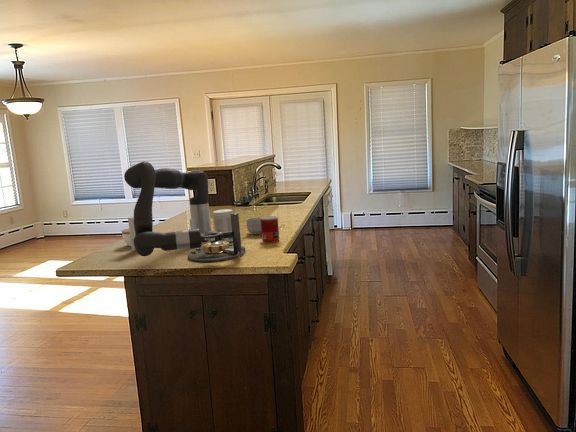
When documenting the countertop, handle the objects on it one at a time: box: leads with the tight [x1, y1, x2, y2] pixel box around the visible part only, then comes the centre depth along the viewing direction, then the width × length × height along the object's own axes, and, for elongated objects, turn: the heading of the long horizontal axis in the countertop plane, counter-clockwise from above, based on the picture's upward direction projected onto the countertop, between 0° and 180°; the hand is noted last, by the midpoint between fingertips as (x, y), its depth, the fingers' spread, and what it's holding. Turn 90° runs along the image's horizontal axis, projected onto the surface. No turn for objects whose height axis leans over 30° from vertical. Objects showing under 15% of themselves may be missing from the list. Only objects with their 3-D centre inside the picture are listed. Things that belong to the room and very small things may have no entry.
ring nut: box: [202, 212, 242, 254], centre depth 190 cm, size 20×11×16 cm, turn 49°
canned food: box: [261, 215, 280, 243], centre depth 213 cm, size 8×8×11 cm
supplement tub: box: [212, 208, 234, 243], centre depth 219 cm, size 10×10×15 cm
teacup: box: [245, 216, 263, 235], centre depth 232 cm, size 14×11×8 cm
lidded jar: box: [121, 228, 131, 247], centre depth 224 cm, size 11×11×9 cm
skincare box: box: [127, 216, 136, 252], centre depth 213 cm, size 8×7×16 cm
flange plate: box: [187, 242, 246, 263], centre depth 194 cm, size 24×24×5 cm
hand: (232, 234), depth 183 cm, fingers closed
